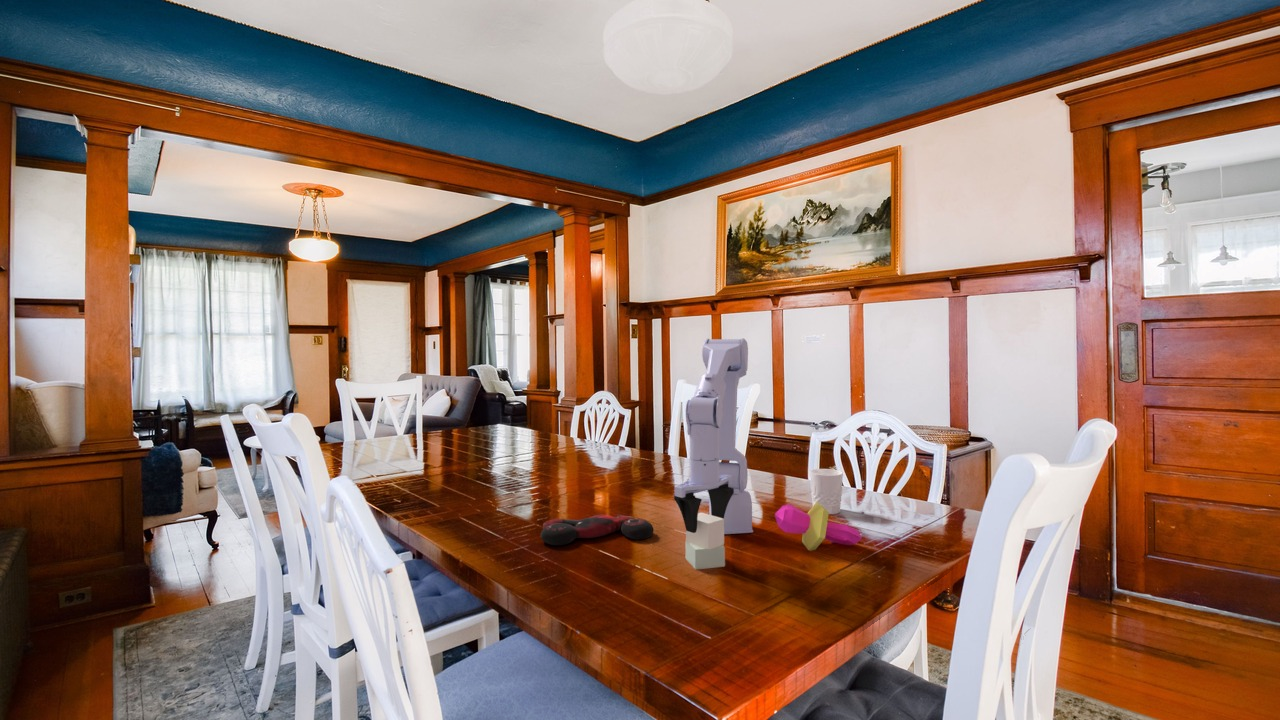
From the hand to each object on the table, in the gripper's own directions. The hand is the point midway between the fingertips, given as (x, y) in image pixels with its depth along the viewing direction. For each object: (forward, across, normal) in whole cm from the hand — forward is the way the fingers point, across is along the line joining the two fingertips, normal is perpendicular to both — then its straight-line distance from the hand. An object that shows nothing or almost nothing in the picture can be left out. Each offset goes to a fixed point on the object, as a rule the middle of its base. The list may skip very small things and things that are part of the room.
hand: (704, 527), depth 115 cm
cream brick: (+3, 0, 0) cm, 3 cm away
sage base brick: (+7, 0, 0) cm, 7 cm away
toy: (+7, -24, +10) cm, 27 cm away
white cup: (+7, -49, -3) cm, 50 cm away
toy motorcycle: (+8, +5, -29) cm, 30 cm away
